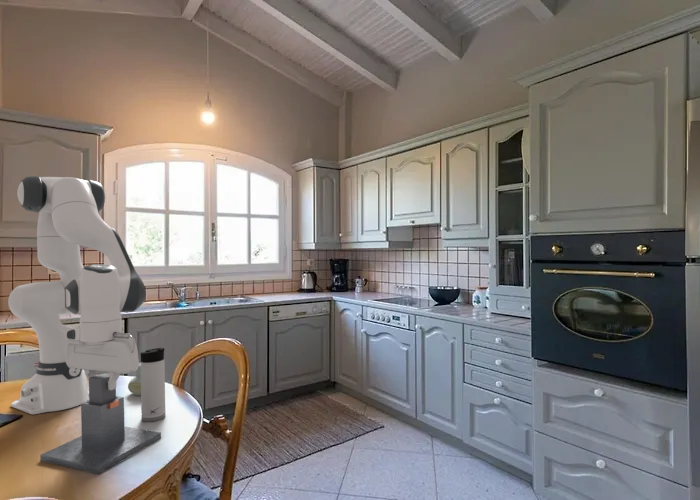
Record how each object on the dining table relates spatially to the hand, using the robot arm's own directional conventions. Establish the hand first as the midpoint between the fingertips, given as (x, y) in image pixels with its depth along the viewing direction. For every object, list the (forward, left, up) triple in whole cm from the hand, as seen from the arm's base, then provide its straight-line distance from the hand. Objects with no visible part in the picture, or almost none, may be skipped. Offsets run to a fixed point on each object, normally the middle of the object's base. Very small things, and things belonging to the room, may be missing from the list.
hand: (102, 388), depth 104 cm
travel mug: (-3, +19, -15) cm, 24 cm away
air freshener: (-22, +35, -15) cm, 44 cm away
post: (0, 0, -13) cm, 13 cm away
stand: (0, 0, -15) cm, 15 cm away
